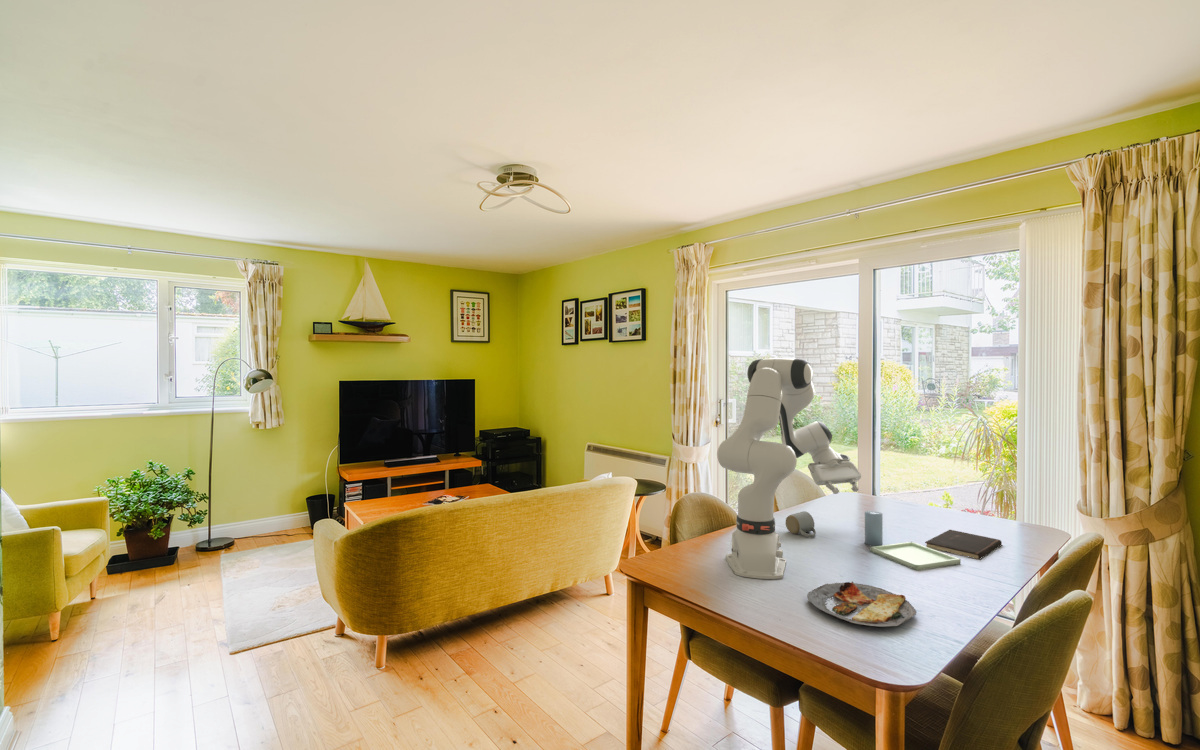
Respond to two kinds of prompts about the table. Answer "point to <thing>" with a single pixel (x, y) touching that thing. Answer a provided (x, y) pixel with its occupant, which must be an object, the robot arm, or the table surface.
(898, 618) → the food plate
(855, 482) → the robot arm
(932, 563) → the tray
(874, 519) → the grey cylinder
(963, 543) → the hardcover book
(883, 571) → the table surface
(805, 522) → the ceramic mug
